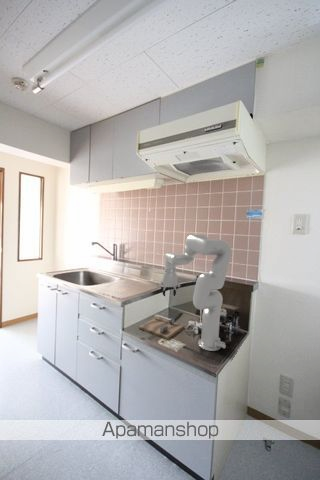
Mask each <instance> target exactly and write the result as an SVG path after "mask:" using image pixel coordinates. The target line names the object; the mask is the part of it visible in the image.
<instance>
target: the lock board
mask: <svg viewBox="0 0 320 480" xmlns="http://www.w3.org/2000/svg"><path fill="white" fill-rule="evenodd" d="M164 325H167V326H168V330H167V331H166V332H165V333H160V328H161V327H162V326H164ZM184 329H185V325H183V324H180V323H177V322H174V324H169V323H167V322H164V321H161V320H157V319H154V318H152V319H150V320H148V321H146V322H145V323H143V324H141V325H139V326H138V330H142V331H144V332H146V333H148V334H152V335H154V336H157V337H160V338H162V339H164V340H170V339H171V338H172V337H173V336H174V335H176V334H178V333H179V332H180V331H182V330H184Z"/></svg>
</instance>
